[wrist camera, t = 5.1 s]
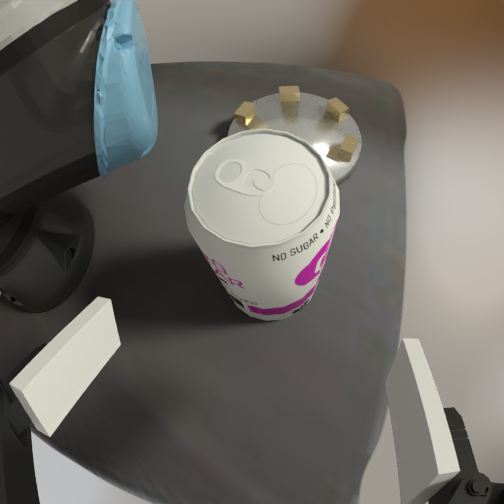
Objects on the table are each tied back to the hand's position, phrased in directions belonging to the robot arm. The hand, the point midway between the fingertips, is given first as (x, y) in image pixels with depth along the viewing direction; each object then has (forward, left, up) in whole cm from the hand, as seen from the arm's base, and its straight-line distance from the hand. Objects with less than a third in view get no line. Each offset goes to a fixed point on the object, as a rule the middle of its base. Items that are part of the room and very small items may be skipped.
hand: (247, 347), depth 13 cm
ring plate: (+16, +18, -14) cm, 28 cm away
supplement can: (+4, +6, -14) cm, 16 cm away
